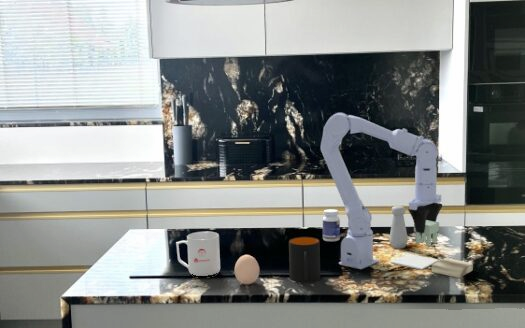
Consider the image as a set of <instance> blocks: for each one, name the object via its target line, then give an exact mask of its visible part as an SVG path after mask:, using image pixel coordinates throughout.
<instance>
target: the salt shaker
mask: <svg viewBox="0 0 525 328" xmlns="http://www.w3.org/2000/svg"><path fill="white" fill-rule="evenodd" d="M391 214H392V221H391V226H390V233H389V238H388V239H389V243H390V245H391V246H390V247H392V248H394V249H404V248H406V246H407V243H408V242H409V238H408V234H407V233H408V232H407V228H406V221H405V217H404V215H405V214H406V208H405V207H404V206H403V205H394V206H392V207H391Z"/></svg>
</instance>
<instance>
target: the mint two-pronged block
mask: <svg viewBox="0 0 525 328" xmlns="http://www.w3.org/2000/svg"><path fill="white" fill-rule="evenodd" d="M439 231H440V222H439V221H436V222H434V221H429V220H426V223H425V230H424V233H419V232H416V229H415V225H414V224H413V232H415V245H419V244H421V242H426V244H425V245H426V246H427V247H431V246H432V244H437V243H438V232H439Z"/></svg>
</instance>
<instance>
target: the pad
mask: <svg viewBox="0 0 525 328" xmlns="http://www.w3.org/2000/svg"><path fill="white" fill-rule="evenodd" d="M439 261H440V260H439V259H436V258H432V257H427V256H422V255H417V254H411V253H406V254H404V255H403V256H400V257H398V258H396V259H394V260H392V261H390V264H393V265H399V266H403V267H408V268H412V269H417V270H420V271H421V270H424V269H426V268H428V267H430V266H432V265H433V264H435V263H437V262H439Z"/></svg>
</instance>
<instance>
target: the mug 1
mask: <svg viewBox="0 0 525 328" xmlns="http://www.w3.org/2000/svg"><path fill="white" fill-rule="evenodd" d="M181 244H186V245H187V262H188V264H187V263H186V262H185V261H183V260H182V259H181V257H180V248H179V247H180V246H179V245H181ZM175 245H176V254H177V261H178V263H180V264H181V265H182V266H183V267H186V268H187V269H188V272H189V273H190V275H192V274H193V275H196V276H208V275H213V274H216V273H217V274H219V272H220V270H221V257H220V256H221V255H220V235H219V233H217V232H214V231H196V232H192V233H189V234H188V235H186V240H179V241H176V242H175ZM217 274H216V275H217ZM193 275H192V276H193Z"/></svg>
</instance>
